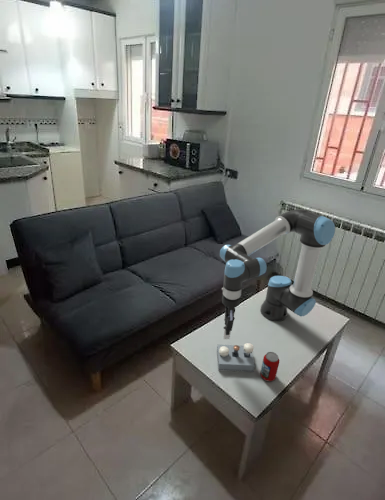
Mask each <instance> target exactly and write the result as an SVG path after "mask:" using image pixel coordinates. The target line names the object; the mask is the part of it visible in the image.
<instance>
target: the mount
mask: <svg viewBox="0 0 385 500" xmlns="http://www.w3.org/2000/svg"><path fill="white" fill-rule="evenodd" d="M234 345H235V344H217V345H216V357H217V369H218V371H225V372H248V373H253V372H255V367H256V365H255V361H254V356H253V355H254V354H253V352H252V353H249V356H247V355H246V352H245V351H244V350H243V349H244V345H240V344H239V345H238V346H239V347H240V349H239V350H238V354H237V355H234V349H233V347H234ZM222 346H225V347H227V348H228V349H229V354H228V356H226V357H223V356H221V355H220V354H219V349H220V347H222Z"/></svg>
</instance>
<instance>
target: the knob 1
mask: <svg viewBox="0 0 385 500" xmlns="http://www.w3.org/2000/svg"><path fill="white" fill-rule="evenodd" d="M219 354H220V355H221V356H223V357H226V356H228V354H229V349H228V348H227V347H225V346H222V347H220V349H219Z"/></svg>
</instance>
